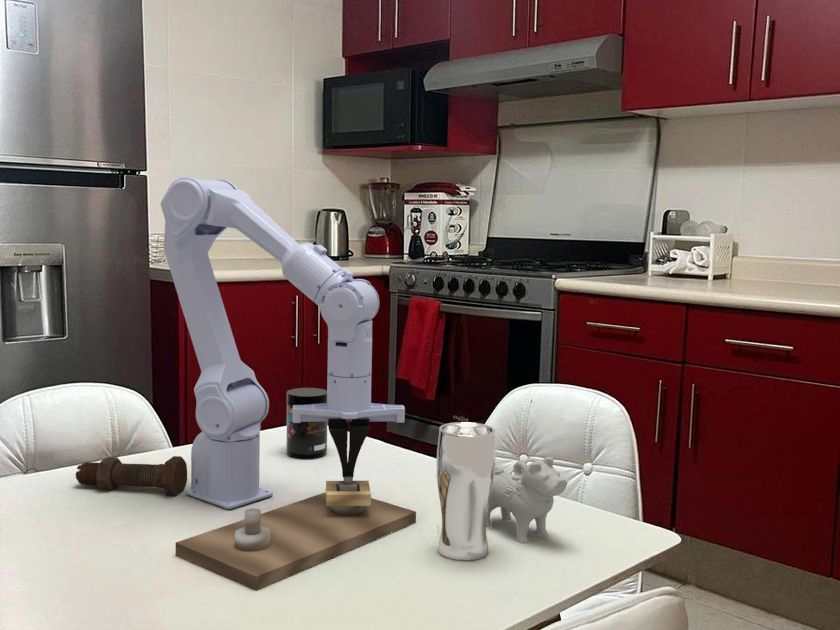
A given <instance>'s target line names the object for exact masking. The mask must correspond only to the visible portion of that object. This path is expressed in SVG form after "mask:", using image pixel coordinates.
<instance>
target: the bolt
mask: <svg viewBox="0 0 840 630" xmlns="http://www.w3.org/2000/svg"><path fill="white" fill-rule="evenodd" d="M76 469H77V471H76V472H75V479H76V480H77V482H78V484H80V485H83V486H84V485H85V486H97V487H98V488H99V490H100V491H103V492H104V491H106V492H107V491H108V492H112V491H115V490H116V489H118V488H120V487H132V488H133V487H135V488H155V489H163V491H164V494H165V497H166V496H167V497H177V496H179V495H180V494H182V493H183V492H184V490H185V489H186V486H187V483H188V465H187V462H186V460H185V459H184V458H183V456H178V455H176V456H175V455H174V456H172V457H171V458H169V459H167V460H166V461H165V462H164V463H158V464H157V463H156V464H150V463H123V462H122V461H121V460H120V458H119V457H117V456H109V457H105V458H104V459H103V458H102V460H101V461H100V462H92V461H91V462H89V461H88V462H87V461H85V462H84V463H81V464H79V465H77V467H76Z"/></svg>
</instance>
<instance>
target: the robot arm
mask: <svg viewBox="0 0 840 630" xmlns="http://www.w3.org/2000/svg"><path fill="white" fill-rule="evenodd" d="M160 207H161V210H162V213H163V214H162V215H163V217H164V220H165V222H164V238H163V250H164V255H165V258H166V261H167V265H168V267H169V270H170V274H171V278H172V280H173V284H174V287H175V291H176V293H177V297H178V301H179V303H180V307H181V311H182V313H183V316H184V319H185V323H186V327H187V329H188V332H189V333H188V334H189V336H190V339H191V342H192V346H193V349H194V352H195V355H196V358H197V363H198V364H199V368H200V376H199V377H198V379H197V382H196V383H195V386H194V388H193V393H194V396H195V400H196V407H195V418H196V419H195V421H196V422H197V423H196V424H197V425H198V427H199V429H200V430H201V431H200V433H198V434H197V436H196V437H195V439H194V440H193V442H192V446H191V450H190V451H191V452H190V454H191V455H190V457H191V458H190V459H191V460H190V462H191V463H190V472H191V473H190V474H191V475H190V477H191V481H190V482H191V484H190V485H191V487H190V488H191V489H187V490H186V492H185V494H186V495H187V496H188V495H189V496H191V497H194V498H196V499H199V500H202V501H205V502H207V503H210V504H213V505H216V506H217V507H221V508H224V509H227V510H232V509H235V508H238V507H241V506H244V505H247V504H250V503H253V502H256V501H260V500H263V499H266V498H269V497H272V496H273V495H274V494H273V491H271V490H267V489H264V488H262V487H260V458H261V457H260V446H261V445H260V443H261V441H260V439H261V435H260V433H261V432H260V431H261V429H262V427H261V423H262V422H263V420H265V418H266V417H267V415H268V413H269V410H270V409H269V408H270V400H269V396H268V394H267V392H266V391H265V389H264V388H263V386H261V385H260V383H259V382H258V380H257V378H256V374H255V372H254V370H253V369H252V368H250V367H249V366H248V365H247V364H245V363H244V362H243V361H242V360H241V357H240V354H239V351H238V348H237V345H236V342H235V337H234V335H233V331H232V328H231V325H230V321H229V319H228V315H227V312H226V309H225V305H224V302H223V299H222V296H221V292H220V289H219V287H218V283H217V279H216V276H215V273H214V269H213V267H212V263H211V261H210V256H209V251H210V249H211V248H212V246H213V244H214V242H215V241H216V239H217V238H218V237H219V236H220V235H221V234H222V233H224V231H226V229H228V228H229V229H235V230H237V231H239V232H240V233H241V234H243V235H244V236H245V237H247V238H248V239H249V240H250V241H252V242H253V243H255V244H256V245H257V246H259V247H260V248H261V249H263V250H264V251H265V252H267V253H268V254H269V255H271V256H272V257H273V258H275V259H276V260H277V261H279V262H280V263H281V272H282V276H283V277H284V278H285V279H286V280H288V281H289V282H290V283H291V284H292V285H293V286H294V287H296V288H297V290H299V291H300V292H301V293H303V294H304V295H305V296H306V297H307V298H309V299H310V300H311V301H312V302H313V303H314V304H315V305H317V306H318V307H319V310H320V314H321V316H322V318H323V320H324V322H325V323H326V325H327V336H328V337H327V377H326V378H327V381H326V382H327V383H326V384H327V385H326V387H327V388H326V391H327V403H323V404H310V405H293V423H301V422H327V430H328V431H329V433H330V436H331V439H332V441H333V444H334V445H335V448H336V450H337V454H338V458H339V461H340V464H341V472H342V474H341V475H342V478H344V477H345V476H351V477H353V478H354V474H355V468H356V463H357V461H358V457H359V453H360V452H361V449H362V447H363V445H364V443H365V440H366V439H367V436H368V434H369V432H370V429H371V428H370V427H371V425H370V422H395V423H397V424H399V423H400V424H401V423H403V424H404V423H405V418H406V417H405V415H406V407H405V405H403V404H385V403H384V404H383V403H373V402H372V373H373V371H372V369H373V367H372V365H373V363H372V361H373V318H375V317H376V315H377V314H378V311H379V309H380V297H379V294H378V291H377V290H376V289H375V287H374V286H373V285H372V284H371V282H370V281H369V280H366V279H363V278H356V279H355V278H354V277H353V276H354V273H353V272H352V271H351V270H350V269H348V268H347V269H344V268H342V267H341V266H340V265H339V264H338V263H336V262H335V261H334V260H333V259H332V258H330V257H329V256H328V255H326V253H327V251H328V250H327V248H325V247H324V246H323V245H322V244H316V245H315V244H313V243H312V242H303V243H298V242H297V241H296V239H294V238H293V237H292V236H291V235H289V234H288V233H287V232H286V230H285V229H283V228H282V227H281V226H280V225H279V224H277V222H275V220H273V219H272V218H271V216H269V215H268V214H267V213H266V212H264V211H263V209H261V208H260V206H258V205H257V204H256V203H255V202H254V201H253V200H252V198H251V197H250V196H249V194H248V193H247V192H245V191H243V190H241V189H238V188H237V186H236V185H235V184H234V183H232V182H231V181H230V180H225V179H217V180H215V179H214V180H213V179H204V178H203V179H201V178H200V179H199V178H194V177H189V176H183V177H179V178H177V179H175V180H174V181H173V182H172V183H171V184H170V185H169V187H168V189H167V190H166V193H165V194H164V196H163V198H162V199H161V201H160ZM348 424H349V425H348ZM348 426H349V428H348ZM348 430H349V431H348ZM348 433H349V435H348ZM348 436H349V437H348ZM348 439H349V441H348ZM348 444H349V447H348ZM348 448H349V449H348Z"/></svg>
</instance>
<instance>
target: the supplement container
mask: <svg viewBox="0 0 840 630" xmlns="http://www.w3.org/2000/svg"><path fill="white" fill-rule="evenodd" d="M323 403H327V389H324V388H317V387H299V388H292V389H289V390H287V391H286V453H287V455H289V456H290V457H291V458H293V459H300V460H309V459H310V460H311V459H318V457H319V458H321V457H324V456H325V455H326V453H327V452H328V422H301V423H293V405H310V404H323Z"/></svg>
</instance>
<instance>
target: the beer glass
mask: <svg viewBox="0 0 840 630" xmlns="http://www.w3.org/2000/svg"><path fill="white" fill-rule="evenodd" d="M495 433H496V429H495V428H494V427H493V426H490V425H488V424H484V423H479V422H471V421H455V422H449V423H445V424H442V425H440V426H439V432H438V438H437V439H438V440H437V449H436V480H437V481H436V483H437V489H438V497H439V502H440V503H439V504H440V511H441V512H440V513H441V530H440V534H439V540H438V544H437V552H438V554H440V555H441V556H443V557H445V558H447V559H450V560H454V561H464V562H465V561H466V562H468V561H476V560H477V561H478V560H480V559H482V558H485V557H486V556H487V555H488V553H489V544H488V538H487V537H488V536H487V528H486V517H487V511H488V506H489V502H490V498H491V493H492V488H493V482H494V476H495V466H496V456H497V455H496V438H495V437H496V435H495Z"/></svg>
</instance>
